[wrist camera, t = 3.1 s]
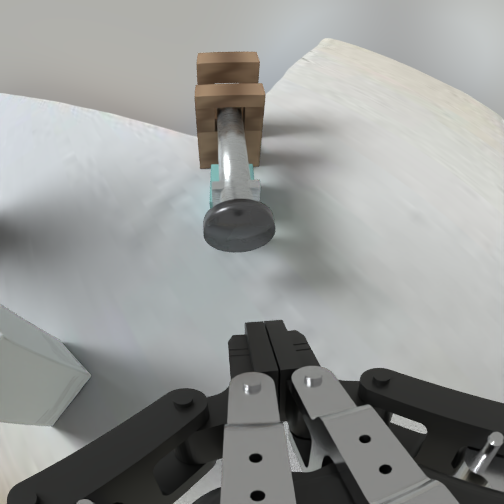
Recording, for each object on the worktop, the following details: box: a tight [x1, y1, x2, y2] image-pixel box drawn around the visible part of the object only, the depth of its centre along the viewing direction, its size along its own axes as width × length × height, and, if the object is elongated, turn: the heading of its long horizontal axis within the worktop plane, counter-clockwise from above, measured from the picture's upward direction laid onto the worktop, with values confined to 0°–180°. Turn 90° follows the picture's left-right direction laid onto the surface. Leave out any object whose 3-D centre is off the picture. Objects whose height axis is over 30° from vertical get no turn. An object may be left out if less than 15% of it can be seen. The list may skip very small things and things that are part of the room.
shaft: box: [203, 107, 275, 252], centre depth 33 cm, size 6×21×10 cm, turn 5°
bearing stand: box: [195, 52, 265, 169], centre depth 39 cm, size 8×10×13 cm
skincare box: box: [0, 304, 91, 426], centre depth 19 cm, size 8×6×15 cm
